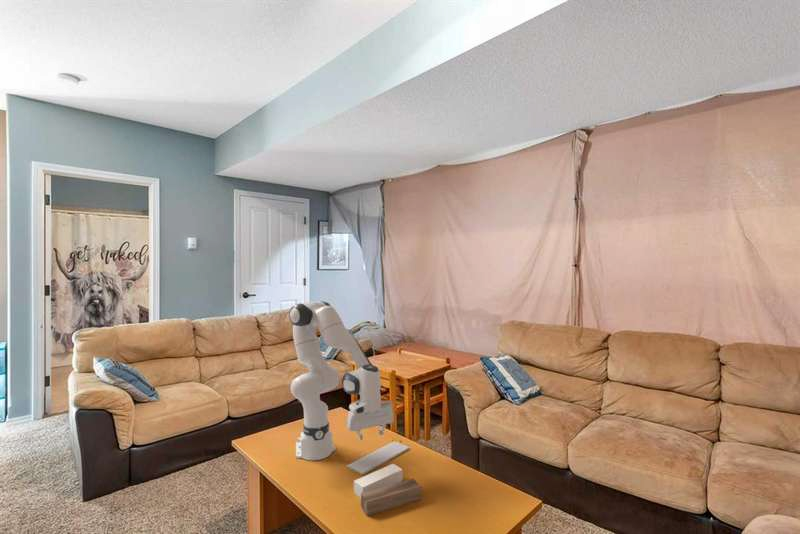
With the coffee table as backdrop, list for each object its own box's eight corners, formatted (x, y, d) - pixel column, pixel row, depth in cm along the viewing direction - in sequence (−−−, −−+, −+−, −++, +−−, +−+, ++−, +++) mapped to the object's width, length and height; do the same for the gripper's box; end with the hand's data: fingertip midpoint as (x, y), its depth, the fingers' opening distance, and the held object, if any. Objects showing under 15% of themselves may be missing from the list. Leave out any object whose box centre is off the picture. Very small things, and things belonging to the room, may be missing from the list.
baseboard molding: (343, 466, 172) (362, 477, 164) (343, 460, 172) (362, 470, 164) (391, 442, 196) (409, 450, 188) (391, 436, 195) (409, 444, 187)
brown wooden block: (360, 506, 143) (360, 493, 143) (413, 491, 153) (413, 478, 153) (366, 516, 138) (366, 502, 138) (420, 499, 148) (420, 486, 148)
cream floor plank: (353, 493, 152) (353, 480, 152) (393, 475, 165) (393, 463, 165) (362, 500, 148) (362, 487, 148) (402, 481, 161) (402, 469, 160)
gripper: (389, 398, 171) (390, 429, 171) (345, 405, 162) (345, 438, 162) (395, 402, 166) (396, 434, 166) (350, 410, 157) (350, 445, 157)
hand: (371, 436), depth 164 cm, fingers open, 8 cm apart
